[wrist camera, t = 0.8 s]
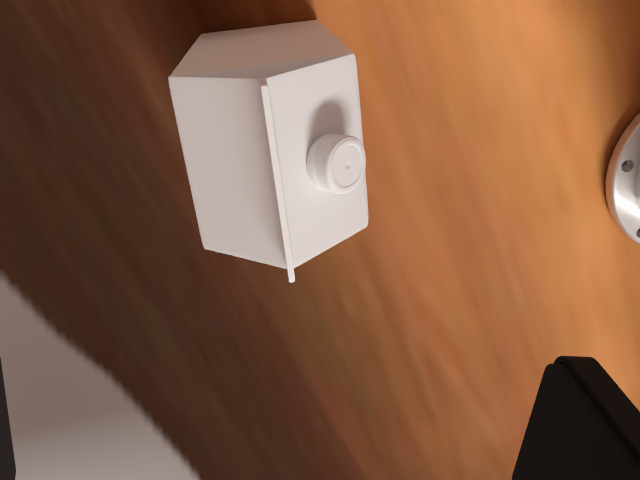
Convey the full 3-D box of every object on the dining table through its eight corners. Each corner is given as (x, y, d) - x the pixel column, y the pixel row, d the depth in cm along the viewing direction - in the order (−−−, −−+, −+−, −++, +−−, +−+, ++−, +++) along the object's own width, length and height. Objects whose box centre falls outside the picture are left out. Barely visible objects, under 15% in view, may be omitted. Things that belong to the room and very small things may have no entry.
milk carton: (220, 148, 39) (194, 296, 22) (199, 33, 36) (149, 98, 19) (330, 134, 39) (389, 269, 22) (318, 18, 36) (376, 70, 19)
